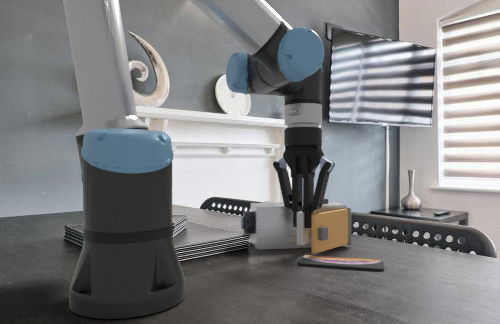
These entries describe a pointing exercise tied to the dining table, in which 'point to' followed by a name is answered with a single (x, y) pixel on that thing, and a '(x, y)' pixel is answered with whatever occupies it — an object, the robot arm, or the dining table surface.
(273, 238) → the silver box with door
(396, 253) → the dining table surface
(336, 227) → the side door
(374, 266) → the smartphone
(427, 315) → the dining table surface
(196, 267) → the dining table surface
